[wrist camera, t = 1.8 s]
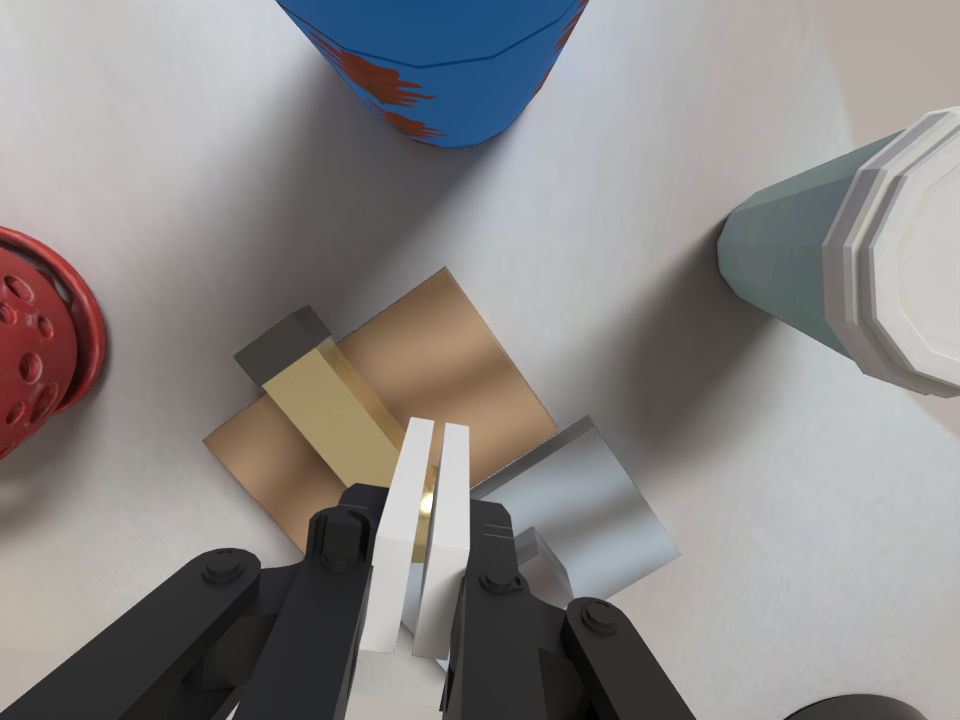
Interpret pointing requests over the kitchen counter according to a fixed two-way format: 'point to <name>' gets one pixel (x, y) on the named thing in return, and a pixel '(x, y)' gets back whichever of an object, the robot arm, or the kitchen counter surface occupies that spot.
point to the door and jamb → (492, 445)
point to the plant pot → (43, 337)
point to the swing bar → (332, 407)
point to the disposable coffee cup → (864, 254)
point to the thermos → (440, 58)
